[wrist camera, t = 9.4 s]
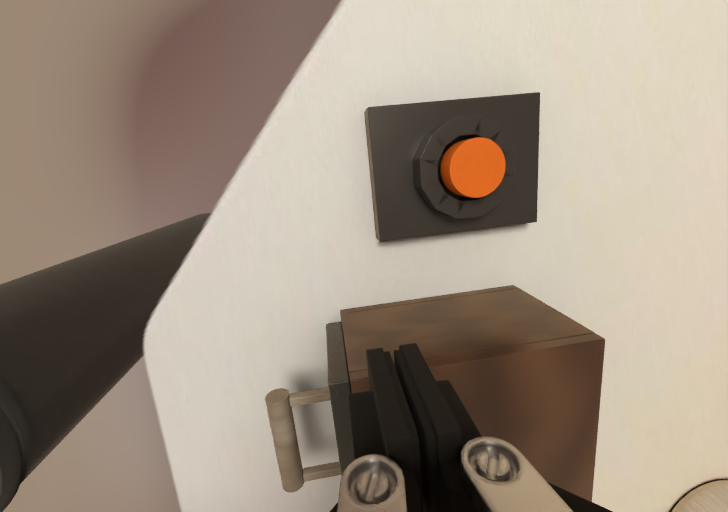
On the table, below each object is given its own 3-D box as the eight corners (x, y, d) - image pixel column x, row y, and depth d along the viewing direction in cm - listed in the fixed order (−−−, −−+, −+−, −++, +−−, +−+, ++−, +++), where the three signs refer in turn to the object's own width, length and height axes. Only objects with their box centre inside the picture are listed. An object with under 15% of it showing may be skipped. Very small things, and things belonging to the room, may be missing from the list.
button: (441, 198, 23) (450, 201, 21) (438, 142, 22) (448, 140, 20) (492, 192, 23) (505, 194, 22) (492, 137, 22) (505, 134, 21)
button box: (376, 237, 26) (384, 247, 23) (364, 111, 24) (371, 101, 21) (524, 219, 27) (552, 225, 24) (526, 97, 25) (557, 85, 22)
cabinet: (356, 441, 30) (372, 558, 21) (339, 309, 27) (349, 380, 18) (512, 412, 32) (591, 511, 23) (513, 284, 29) (606, 338, 19)
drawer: (292, 454, 29) (283, 554, 21) (270, 331, 26) (249, 396, 19) (493, 418, 31) (550, 498, 23) (492, 299, 28) (556, 346, 20)
